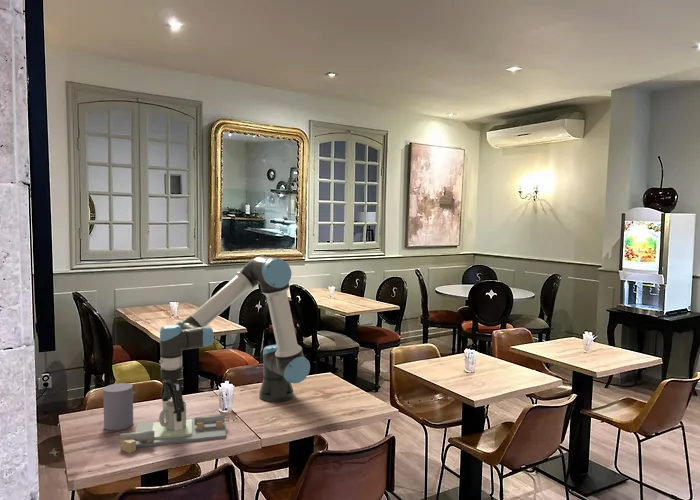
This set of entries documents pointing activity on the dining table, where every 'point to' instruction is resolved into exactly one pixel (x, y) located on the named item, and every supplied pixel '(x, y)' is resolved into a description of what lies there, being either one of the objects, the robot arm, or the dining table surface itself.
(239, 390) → the dining table surface
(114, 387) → the container
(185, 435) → the shaft rig
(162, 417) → the cup
